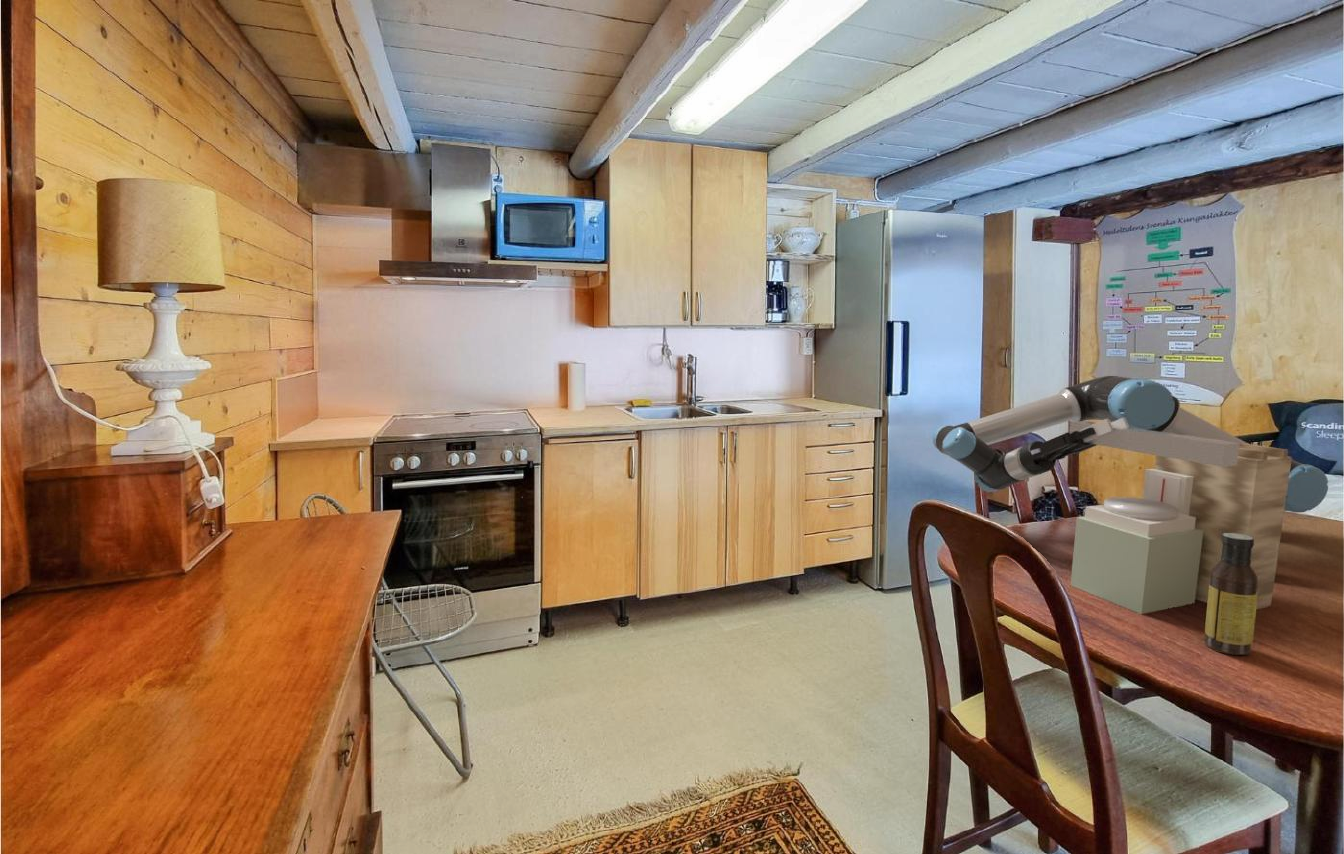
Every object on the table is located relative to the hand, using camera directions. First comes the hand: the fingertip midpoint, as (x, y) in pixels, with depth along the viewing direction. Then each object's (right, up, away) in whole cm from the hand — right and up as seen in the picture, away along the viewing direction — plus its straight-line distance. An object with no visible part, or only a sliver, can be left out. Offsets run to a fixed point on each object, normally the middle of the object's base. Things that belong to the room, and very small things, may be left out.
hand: (1118, 424), depth 133 cm
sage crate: (+2, -35, 0) cm, 35 cm away
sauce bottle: (+3, -39, -23) cm, 45 cm away
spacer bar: (+2, -5, -5) cm, 7 cm away
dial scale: (+2, -20, -2) cm, 21 cm away
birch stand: (+18, -35, 0) cm, 39 cm away
